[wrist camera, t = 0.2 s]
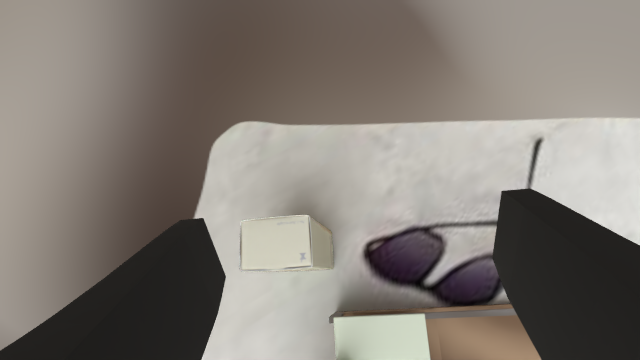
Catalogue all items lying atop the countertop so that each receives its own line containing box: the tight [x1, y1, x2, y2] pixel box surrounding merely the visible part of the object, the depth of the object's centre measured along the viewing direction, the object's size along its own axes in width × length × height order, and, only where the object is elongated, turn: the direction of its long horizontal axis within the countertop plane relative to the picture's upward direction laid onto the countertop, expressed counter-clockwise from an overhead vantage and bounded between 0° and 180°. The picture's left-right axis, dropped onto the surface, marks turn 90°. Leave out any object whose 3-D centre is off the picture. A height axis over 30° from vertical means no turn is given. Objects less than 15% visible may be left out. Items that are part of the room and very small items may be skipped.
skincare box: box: [239, 215, 334, 272], centre depth 34 cm, size 6×4×12 cm
